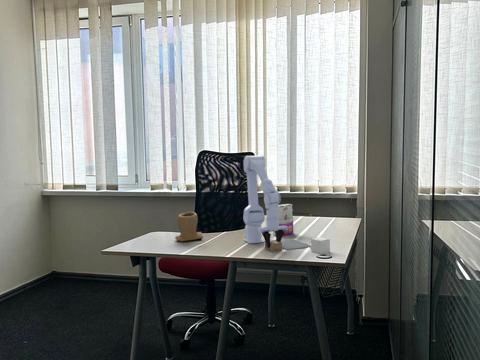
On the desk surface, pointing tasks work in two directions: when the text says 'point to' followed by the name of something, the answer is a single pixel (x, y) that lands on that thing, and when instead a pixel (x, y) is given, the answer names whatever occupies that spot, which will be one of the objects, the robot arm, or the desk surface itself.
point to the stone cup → (188, 227)
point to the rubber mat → (293, 244)
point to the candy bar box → (286, 218)
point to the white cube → (320, 245)
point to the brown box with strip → (274, 246)
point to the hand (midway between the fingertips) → (273, 246)
